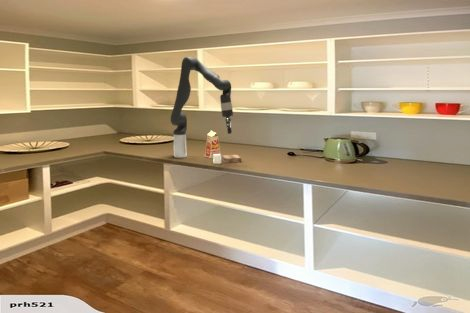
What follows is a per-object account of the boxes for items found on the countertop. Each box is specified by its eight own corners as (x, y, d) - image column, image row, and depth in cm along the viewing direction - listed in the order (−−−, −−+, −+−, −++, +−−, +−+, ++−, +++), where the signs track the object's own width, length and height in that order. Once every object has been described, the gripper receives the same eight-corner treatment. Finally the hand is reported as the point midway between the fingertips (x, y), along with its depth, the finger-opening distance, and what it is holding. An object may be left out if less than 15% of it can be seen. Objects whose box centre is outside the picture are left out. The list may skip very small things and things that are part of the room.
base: (224, 162, 266) (224, 158, 265) (221, 159, 277) (221, 155, 277) (241, 161, 268) (241, 157, 268) (237, 158, 280) (237, 154, 279)
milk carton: (204, 156, 290) (203, 130, 286) (214, 155, 295) (214, 129, 291) (211, 158, 282) (210, 131, 279) (221, 156, 288) (220, 130, 284)
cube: (214, 164, 263) (214, 155, 261) (213, 162, 267) (213, 154, 266) (221, 163, 264) (221, 155, 263) (220, 162, 268) (220, 153, 267)
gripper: (222, 110, 266) (225, 133, 267) (220, 110, 251) (223, 134, 253) (232, 108, 265) (235, 132, 267) (231, 108, 251) (235, 133, 253)
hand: (229, 133), depth 260 cm, fingers open, 8 cm apart
